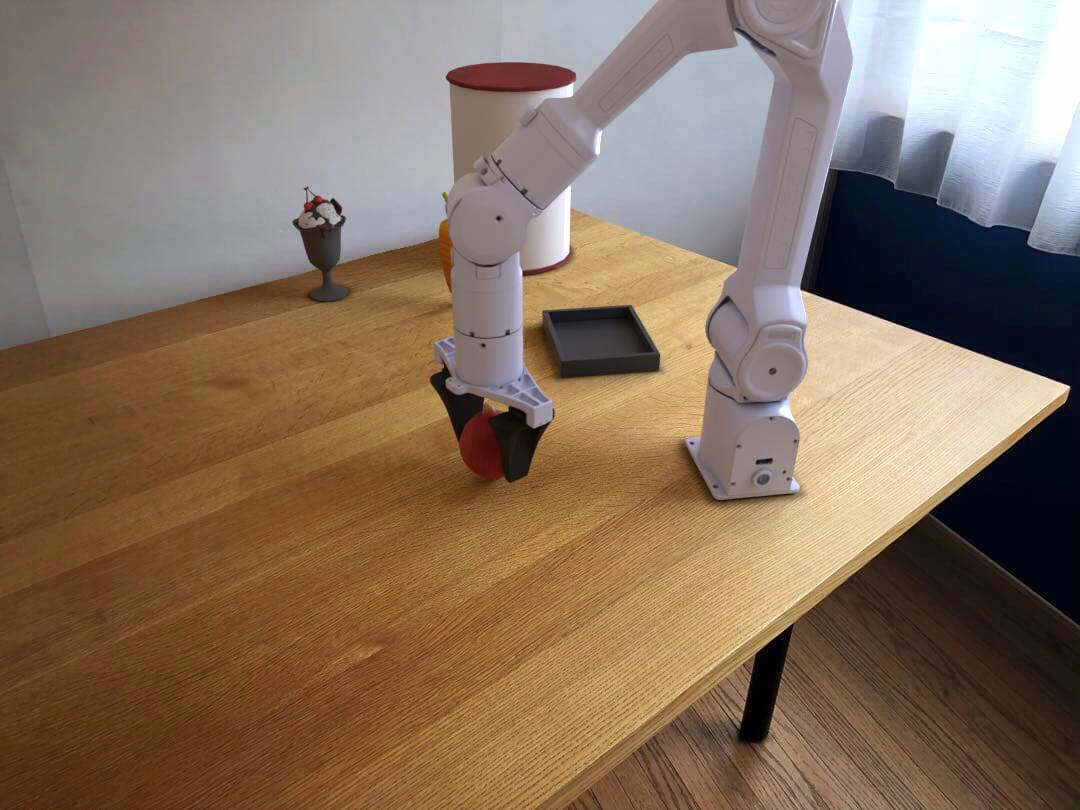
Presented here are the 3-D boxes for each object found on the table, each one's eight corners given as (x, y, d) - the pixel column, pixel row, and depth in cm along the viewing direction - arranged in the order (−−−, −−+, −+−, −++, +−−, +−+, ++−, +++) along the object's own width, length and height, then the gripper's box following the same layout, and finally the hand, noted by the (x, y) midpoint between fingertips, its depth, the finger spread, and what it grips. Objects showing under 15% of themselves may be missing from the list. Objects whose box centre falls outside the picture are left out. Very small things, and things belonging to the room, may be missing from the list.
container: (581, 272, 120) (587, 85, 107) (458, 279, 118) (448, 89, 105) (562, 230, 135) (565, 60, 122) (451, 234, 133) (443, 63, 120)
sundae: (304, 307, 110) (287, 192, 102) (302, 286, 116) (285, 176, 108) (356, 301, 112) (343, 188, 104) (352, 281, 117) (339, 172, 109)
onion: (528, 462, 81) (527, 389, 77) (520, 499, 76) (520, 423, 72) (467, 458, 82) (463, 385, 77) (456, 495, 77) (451, 419, 73)
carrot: (436, 301, 112) (429, 187, 104) (472, 294, 114) (467, 182, 106) (449, 316, 108) (443, 199, 100) (486, 309, 110) (482, 194, 102)
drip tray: (659, 370, 96) (660, 354, 95) (560, 378, 95) (561, 361, 94) (630, 319, 107) (631, 304, 106) (542, 325, 106) (542, 310, 105)
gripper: (400, 306, 73) (412, 439, 80) (501, 371, 64) (505, 515, 71) (468, 285, 77) (473, 414, 84) (574, 344, 67) (570, 483, 75)
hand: (492, 458), depth 78 cm, fingers open, 7 cm apart
